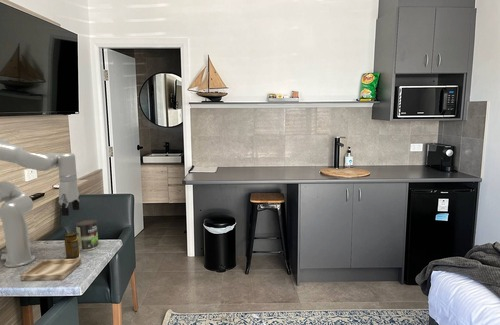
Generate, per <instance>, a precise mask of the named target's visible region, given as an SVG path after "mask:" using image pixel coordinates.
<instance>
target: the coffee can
mask: <svg viewBox="0 0 500 325" xmlns="http://www.w3.org/2000/svg"><path fill="white" fill-rule="evenodd" d="M97 222H98V221H97V219H84V220H80V221H77V222H76V223H75V229H76V234H77V235H76V236H77V238H78V245H79V251H83V252H85V251H86V250H88V251H92V250H95V249H97V248H98V247H99V246H100V244H99V242H100V241H99V234H98V223H97ZM86 252H87V251H86Z"/></svg>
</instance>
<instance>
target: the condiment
mask: <svg viewBox="0 0 500 325" xmlns="http://www.w3.org/2000/svg"><path fill="white" fill-rule="evenodd" d="M64 239H65V240H64V250H65V255H64V256H63V257H64V258H63V259H82V255H81V256H80V257H79V253H80V250H79V245H78V238H77V232H69V233H65V235H64Z"/></svg>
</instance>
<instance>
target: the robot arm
mask: <svg viewBox="0 0 500 325" xmlns="http://www.w3.org/2000/svg"><path fill="white" fill-rule="evenodd" d="M0 161H2V162H8V163H12V164H16V165H18V166H20V167H23V168H26V169H29V170H35V171H39V172H42V171H43V172H45V171H49V170H53V169H56V168H57V169H58V176H59V182H58V204H59V207H60V209H61V216H62V217H63V216H66V217H67V216H70V212H69V203H72V204H71V206H72V210H73V211H79V210H80V195H81V192H80V191H79V186H78V178H77V177H78V176H77V175H78V173H77V163H76V161H77V160H76V155H75V154H74V153H71V152H65V153H63V152H62V153H61V152H60V153H58V152H49V153H44V154H39V153H33V152H30V151H27V150H25V149H24V147H23V146H21V145H18V144H13V143H10V142H9V141H7V140H5V139H2V138H0ZM0 203H2V204H1V205H0V221H1V223H2V228H3V234H4V239H5V247H6V253H2V254H1V257H0V260H5V262H4V266H5V267H6V268H18V267H22V266H25V265H28V264H30V263H32V262H34V261H35V260H36V256H35V255H34V254H32V253H31V252H32V251H31V244H30V237H29V227H28V224H27V221H26V219H25V216H24V215H26V214H28V213H29V212H31V211H32V209H33V208H34V201H33V199H32V198H31V197H30V196H29V195H28V194H27V193H25V192H24V191H22V189H20V188H19V187H17V185H15V184H14V183H12V182H9V181H5V180H3V181H0Z"/></svg>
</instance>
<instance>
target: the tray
mask: <svg viewBox="0 0 500 325" xmlns="http://www.w3.org/2000/svg"><path fill="white" fill-rule="evenodd" d="M80 265H82V258H80V259H65V258H61V259H60V258H59V259H55V258H54V259H42V260H41V261H39V262H38V263H36V264H35V265H34V266H32V267H30V268H29V269H28V270H26V271H25V272H24V273H23V274H21V275H20V281H21V282H43V281H45V282H46V281H49V282H50V281H64V280H65V279H66V278H67V277H68V276H69V275H71V274H72V273H73V272H74V271H75V270H77V268H79V267H80Z"/></svg>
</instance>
